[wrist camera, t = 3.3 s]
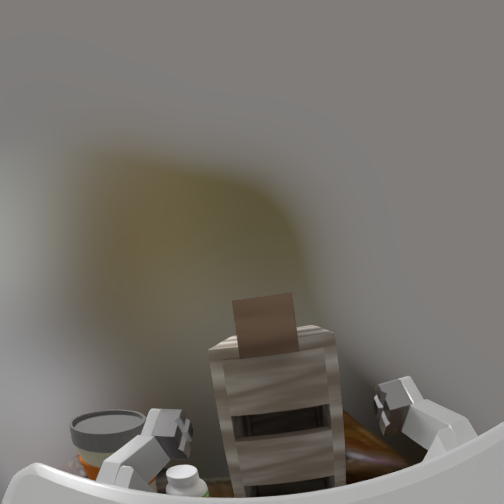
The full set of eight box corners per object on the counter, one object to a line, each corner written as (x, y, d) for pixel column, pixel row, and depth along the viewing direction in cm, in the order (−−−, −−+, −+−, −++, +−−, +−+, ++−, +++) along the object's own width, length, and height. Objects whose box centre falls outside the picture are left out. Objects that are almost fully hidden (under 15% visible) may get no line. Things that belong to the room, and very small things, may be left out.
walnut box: (299, 351, 19) (291, 292, 19) (239, 359, 19) (232, 300, 20) (287, 330, 38) (283, 301, 39) (257, 335, 38) (253, 305, 39)
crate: (345, 528, 21) (334, 332, 26) (245, 540, 22) (208, 349, 27) (327, 472, 37) (312, 324, 42) (254, 481, 37) (232, 336, 42)
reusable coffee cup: (158, 524, 24) (129, 438, 27) (83, 510, 24) (51, 428, 27) (176, 484, 37) (157, 409, 40) (112, 478, 36) (91, 407, 39)
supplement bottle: (221, 528, 24) (207, 477, 26) (181, 535, 22) (162, 483, 24) (211, 509, 29) (197, 459, 31) (175, 515, 27) (158, 465, 29)
